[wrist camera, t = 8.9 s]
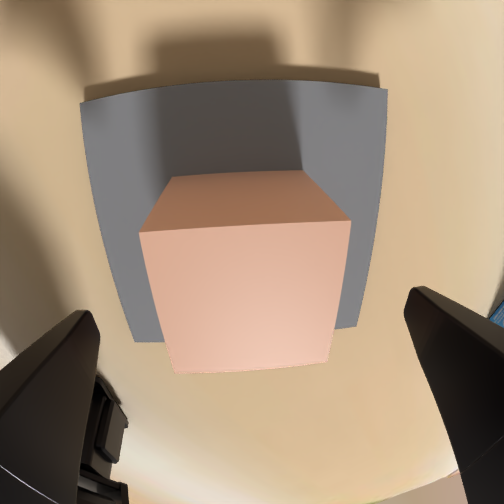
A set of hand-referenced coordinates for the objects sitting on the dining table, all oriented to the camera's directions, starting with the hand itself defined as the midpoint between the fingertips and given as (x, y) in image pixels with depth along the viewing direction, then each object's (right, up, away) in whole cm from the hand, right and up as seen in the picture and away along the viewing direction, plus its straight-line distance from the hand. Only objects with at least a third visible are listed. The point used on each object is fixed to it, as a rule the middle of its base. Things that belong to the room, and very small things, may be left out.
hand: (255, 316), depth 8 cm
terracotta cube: (-1, +2, +5) cm, 5 cm away
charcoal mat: (-1, +3, +5) cm, 6 cm away
